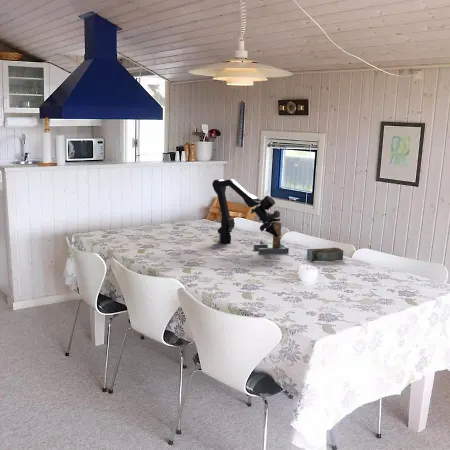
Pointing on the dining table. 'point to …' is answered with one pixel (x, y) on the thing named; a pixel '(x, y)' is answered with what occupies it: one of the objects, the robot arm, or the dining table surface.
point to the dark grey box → (324, 254)
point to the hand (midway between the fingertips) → (279, 235)
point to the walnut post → (278, 230)
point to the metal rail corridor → (264, 248)
